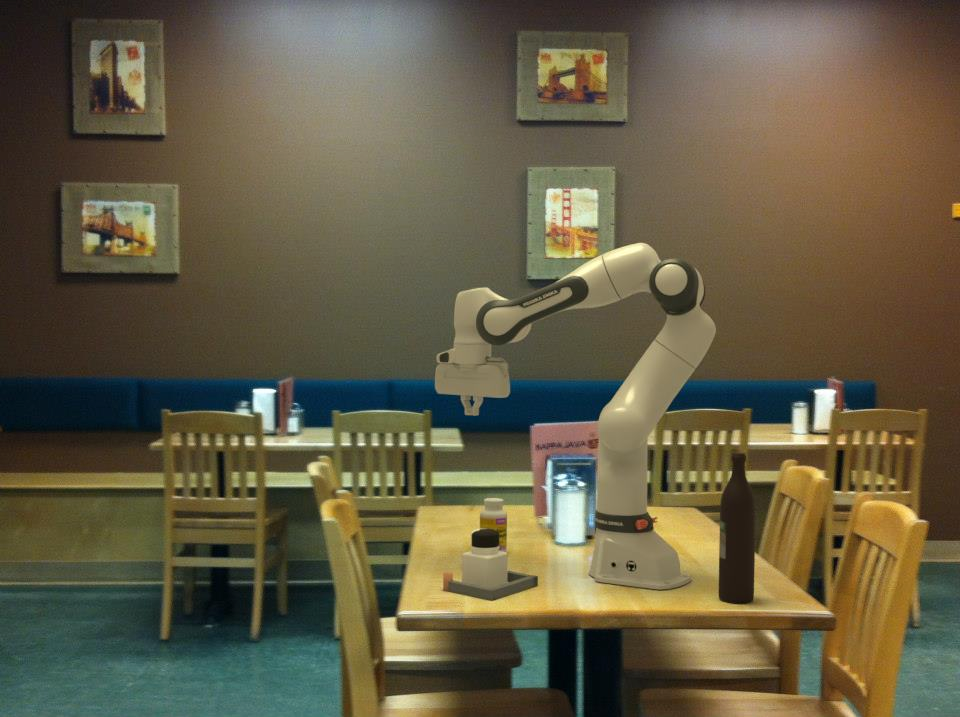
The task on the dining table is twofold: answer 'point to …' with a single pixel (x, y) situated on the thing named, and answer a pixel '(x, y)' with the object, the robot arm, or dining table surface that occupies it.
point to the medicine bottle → (485, 560)
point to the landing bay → (515, 585)
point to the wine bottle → (737, 536)
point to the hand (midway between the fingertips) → (471, 415)
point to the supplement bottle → (495, 520)
